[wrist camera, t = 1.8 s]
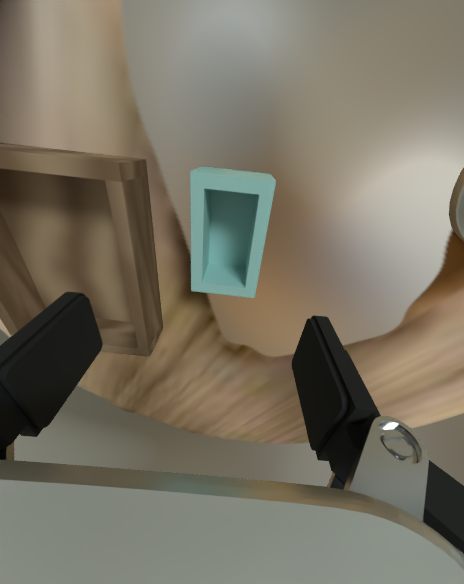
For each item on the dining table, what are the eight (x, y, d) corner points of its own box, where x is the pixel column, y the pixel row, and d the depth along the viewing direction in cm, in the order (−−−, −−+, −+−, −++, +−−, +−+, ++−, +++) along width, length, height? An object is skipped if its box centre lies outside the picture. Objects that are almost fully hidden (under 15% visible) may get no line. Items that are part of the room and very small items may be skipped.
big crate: (145, 159, 20) (118, 163, 15) (163, 327, 31) (149, 356, 26) (-36, 138, 19) (-114, 136, 15) (46, 315, 30) (15, 341, 26)
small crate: (269, 173, 20) (276, 181, 15) (253, 272, 25) (254, 298, 21) (202, 166, 20) (190, 171, 15) (200, 266, 25) (191, 291, 21)
